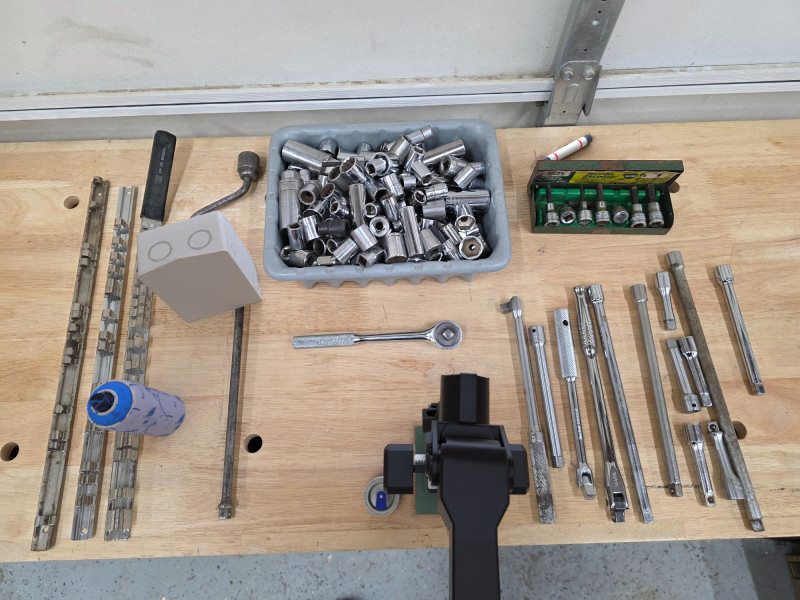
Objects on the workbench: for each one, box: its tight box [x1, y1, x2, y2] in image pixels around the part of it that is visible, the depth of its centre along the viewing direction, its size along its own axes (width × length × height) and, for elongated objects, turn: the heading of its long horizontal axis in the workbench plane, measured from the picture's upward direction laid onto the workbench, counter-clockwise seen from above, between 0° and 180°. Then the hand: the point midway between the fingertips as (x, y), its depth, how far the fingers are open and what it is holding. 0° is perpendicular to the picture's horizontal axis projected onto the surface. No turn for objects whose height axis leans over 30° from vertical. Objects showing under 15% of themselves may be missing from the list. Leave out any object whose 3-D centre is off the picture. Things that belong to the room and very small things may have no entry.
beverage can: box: [362, 475, 402, 517], centre depth 70 cm, size 5×5×15 cm
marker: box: [533, 133, 593, 169], centre depth 99 cm, size 15×2×2 cm, turn 121°
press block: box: [414, 425, 440, 515], centre depth 76 cm, size 14×10×4 cm
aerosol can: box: [85, 378, 186, 438], centre depth 73 cm, size 8×8×20 cm
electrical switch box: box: [136, 210, 263, 324], centre depth 84 cm, size 15×15×20 cm
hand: (449, 468), depth 67 cm, fingers closed
